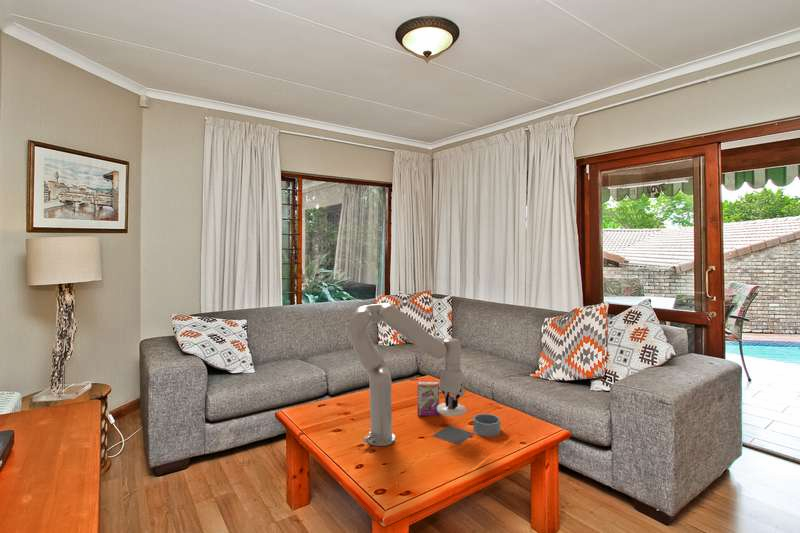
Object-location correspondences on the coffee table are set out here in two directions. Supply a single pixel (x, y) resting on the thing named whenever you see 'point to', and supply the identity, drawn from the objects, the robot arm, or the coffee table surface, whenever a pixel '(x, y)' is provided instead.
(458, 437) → the mat
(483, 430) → the pot
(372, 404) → the robot arm
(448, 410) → the lid
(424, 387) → the candy bar box
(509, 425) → the coffee table surface
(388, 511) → the coffee table surface
